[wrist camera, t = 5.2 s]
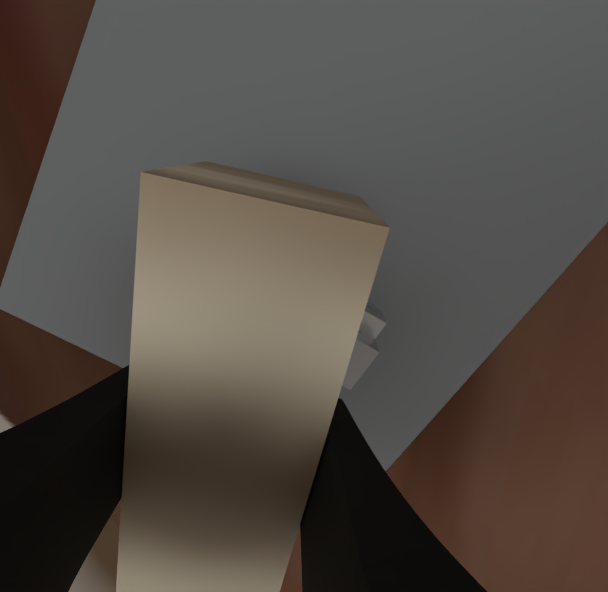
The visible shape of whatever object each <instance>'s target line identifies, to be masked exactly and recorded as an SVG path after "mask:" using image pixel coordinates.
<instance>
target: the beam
mask: <svg viewBox="0 0 608 592" xmlns="http://www.w3.org/2000/svg"><path fill="white" fill-rule="evenodd" d="M389 229H390V227H389V226H388V225H387V224H386V223H385V222H384V221H383V220H382V219H381V218H380V217H379V216H378V215H377V214H376V213H375V212H374V210H373V209H372V208H371V207H370V206H369V205H368V204H367V203H366V202H365V201H364V200H363V199H362V198H361V197H360V196H357V195H352V194H348V193H343V192H339V191H335V190H330V189H326V188H322V187H317V186H313V185H308V184H304V183H300V182H295V181H291V180H287V179H282V178H278V177H273V176H269V175H265V174H260V173H256V172H252V171H247V170H243V169H238V168H234V167H230V166H225V165H221V164H217V163H212V162H208V161H204V162H198V163H192V164H186V165H180V166H174V167H168V168H161V169H155V170H149V171H143V172H141V176H140V193H139V210H138V227H137V244H136V261H135V278H134V295H133V312H132V329H131V346H130V363H129V380H128V397H127V414H126V431H125V448H124V465H123V482H122V499H121V516H120V534H119V551H118V568H117V586H116V592H280V589H281V585H282V582H283V579H284V575H285V572H286V569H287V565H288V562H289V559H290V556H291V552H292V549H293V546H294V542H295V539H296V536H297V532H298V529H299V526H300V523H301V519H302V516H303V513H304V509H305V506H306V503H307V499H308V496H309V493H310V490H311V486H312V483H313V480H314V476H315V473H316V470H317V466H318V463H319V460H320V457H321V453H322V450H323V447H324V443H325V440H326V437H327V433H328V430H329V427H330V424H331V420H332V417H333V414H334V410H335V407H336V404H337V401H338V397H339V394H340V391H341V387H342V384H343V381H344V377H345V374H346V371H347V368H348V364H349V361H350V358H351V354H352V351H353V348H354V344H355V341H356V338H357V335H358V331H359V328H360V325H361V321H362V318H363V315H364V311H365V308H366V305H367V302H368V298H369V295H370V292H371V288H372V285H373V282H374V278H375V275H376V272H377V269H378V265H379V262H380V259H381V255H382V252H383V249H384V245H385V242H386V239H387V236H388V232H389Z"/></svg>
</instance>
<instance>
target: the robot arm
mask: <svg viewBox="0 0 608 592" xmlns="http://www.w3.org/2000/svg"><path fill="white" fill-rule="evenodd" d="M128 380H129V365H128V366H126V367H124V368H123V369H121V370H119V371H118V372H116V373H114V374H112V375H111V376H109V377H107V378H106V379H104V380H102V381H100V382H99V383H97V384H95V385H93V386H92V387H90V388H88V389H86V390H84V391H83V392H81V393H79V394H77V395H76V396H74V397H72V398H70V399H68V400H66V401H65V402H63V403H61V404H59V405H57V406H55V407H53V408H51V409H49V410H47V411H45V412H43V413H41V414H39V415H37V416H35V417H33V418H31V419H29V420H27V421H25V422H23V423H21V424H19V425H17V426H15V427H13V428H10V429H8V430H6V431H4V432H2V433H0V592H68V591H69V589H70V587H71V585H72V583H73V581H74V579H75V577H76V575H77V573H78V571H79V569H80V568H81V566H82V564H83V562H84V560H85V558H86V557H87V555H88V553H89V552H90V550H91V548H92V546H93V545H94V543H95V541H96V540H97V538H98V536H99V534H100V533H101V531H102V529H103V528H104V526H105V524H106V523H107V521H108V519H109V518H110V516H111V514H112V513H113V511H114V509H115V507H116V506H117V504H118V502H119V501H120V499H121V497H122V482H123V465H124V448H125V431H126V414H127V397H128ZM300 528H301V557H302V586H303V592H487V591H486V590H485V589H484V588H483V587H482V586H481V585H480V584H479V583H478V582H477V581H476V580H475V579H474V578H473V577H472V576H471V575H470V574H469V573H468V572H467V570H466V569H465V568H464V567H463V566H462V565H461V564H460V563H459V562H458V561H457V560H456V559H455V558H454V557H453V556H452V555H451V554H450V552H449V551H448V550H447V549H446V548H445V547H444V546H443V545H442V544H441V542H440V541H439V540H438V539H437V538H436V537H435V536H434V534H433V533H432V532H431V531H430V530H429V528H428V527H427V526H426V525H425V523H424V522H423V521H422V520H421V519H420V517H419V516H418V515H417V514H416V513H415V511H414V510H413V509H412V508H411V506H410V505H409V504H408V502H407V501H406V500H405V499H404V497H403V496H402V494H401V493H400V492H399V490H398V489H397V487H396V486H395V485H394V483H393V482H392V480H391V479H390V478H389V476H388V475H387V473H386V472H385V470H384V469H383V467H382V466H381V464H380V462H379V461H378V459H377V458H376V456H375V454H374V453H373V451H372V450H371V448H370V447H369V445H368V443H367V442H366V440H365V438H364V437H363V435H362V433H361V431H360V430H359V428H358V426H357V424H356V423H355V421H354V419H353V417H352V415H351V414H350V412H349V410H348V408H347V406H346V405H345V403H344V401H343V400H342V399H340V398H338V401H337V404H336V407H335V410H334V414H333V417H332V420H331V424H330V427H329V430H328V433H327V437H326V440H325V443H324V447H323V450H322V453H321V457H320V460H319V463H318V466H317V470H316V473H315V476H314V480H313V483H312V486H311V490H310V493H309V496H308V499H307V503H306V506H305V509H304V513H303V516H302V519H301V523H300Z"/></svg>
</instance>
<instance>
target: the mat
mask: <svg viewBox="0 0 608 592" xmlns="http://www.w3.org/2000/svg"><path fill="white" fill-rule="evenodd" d="M204 161H208V162H212V163H217V164H221V165H225V166H230V167H234V168H238V169H243V170H247V171H252V172H256V173H260V174H265V175H269V176H273V177H278V178H282V179H287V180H291V181H295V182H300V183H304V184H308V185H313V186H317V187H322V188H326V189H330V190H335V191H339V192H343V193H348V194H352V195H357V196H360V197H361V198H362V199H363V200H364V201H365V202H366V203H367V204H368V205H369V206H370V207H371V208H372V209H373V210H374V212H375V213H376V214H377V215H378V216H379V217H380V218H381V219H382V220H383V221H384V222H385V223H386V224H387V225H388V226H389V227H390V229H389V232H388V236H387V239H386V242H385V245H384V249H383V252H382V255H381V259H380V262H379V265H378V269H377V272H376V275H375V278H374V282H373V285H372V288H371V292H370V295H369V298H368V303H370V304H371V305H373V306H375V307H376V308H378V309H380V310H381V312H382V314H383V316H384V318H385V321H386V323H387V324H386V325H385V326H384V328H383V329H382V330H381V332H380V333H379V334H378V336H377V337H376V338H375V340H376V343H377V346H378V349H379V354H378V355H377V356H376V358H375V359H374V360H373V361H372V363H371V364H370V365H369V367H368V368H367V369H366V371H365V372H364V373H363V374H362V376H361V377H360V378H359V380H358V381H357V382H356V384H355V385H354V386H353V388H352V389H351V390H349V389H347V388H346V387H344V386H342V387H341V391H340V394H339V397H338V398H340V399H342V400H343V401H344V403H345V405H346V406H347V408H348V410H349V412H350V414H351V415H352V417H353V419H354V421H355V423H356V424H357V426H358V428H359V430H360V431H361V433H362V435H363V437H364V438H365V440H366V442H367V443H368V445H369V447H370V448H371V450H372V451H373V453H374V454H375V456H376V458H377V459H378V461H379V462H380V464H381V466H382V467H383V469H384V470H385V472H386V470H387V469H388V468H389V467H390V466H391V465H392V464H393V463H394V461H395V460H396V459H397V458H398V457H399V456H400V455H401V454H402V453H403V451H404V450H405V449H406V448H407V447H408V446H409V445H410V444H411V442H412V441H413V440H414V439H415V438H416V437H417V436H418V435H419V433H420V432H421V431H422V430H423V429H424V428H425V427H426V426H427V424H428V423H429V422H430V421H431V420H432V419H433V418H434V417H435V415H436V414H437V413H438V412H439V411H440V410H441V409H442V408H443V406H444V405H445V404H446V403H447V402H448V401H449V400H450V399H451V397H452V396H453V395H454V394H455V393H456V392H457V391H458V390H459V388H460V387H461V386H462V385H463V384H464V383H465V382H466V381H467V379H468V378H469V377H470V376H471V375H472V374H473V373H474V372H475V370H476V369H477V368H478V367H479V366H480V365H481V364H482V363H483V362H484V360H485V359H486V358H487V357H488V356H489V355H490V354H491V353H492V351H493V350H494V349H495V348H496V347H497V346H498V345H499V344H500V342H501V341H502V340H503V339H504V338H505V337H506V336H507V335H508V333H509V332H510V331H511V330H512V329H513V328H514V327H515V326H516V324H517V323H518V322H519V321H520V320H521V319H522V318H523V317H524V315H525V314H526V313H527V312H528V311H529V310H530V309H531V308H532V306H533V305H534V304H535V303H536V302H537V301H538V300H539V299H540V297H541V296H542V295H543V294H544V293H545V292H546V291H547V290H548V288H549V287H550V286H551V285H552V284H553V283H554V282H555V281H556V280H557V278H558V277H559V276H560V275H561V274H562V273H563V272H564V271H565V269H566V268H567V267H568V266H569V265H570V264H571V263H572V262H573V260H574V259H575V258H576V257H577V256H578V255H579V254H580V253H581V251H582V250H583V249H584V248H585V247H586V246H587V245H588V244H589V242H590V241H591V240H592V239H593V238H594V237H595V236H596V235H597V233H598V232H599V231H600V230H601V229H602V228H603V227H604V226H605V224H606V223H607V222H608V0H96V2H95V5H94V8H93V11H92V14H91V17H90V20H89V23H88V26H87V29H86V32H85V35H84V38H83V41H82V44H81V47H80V50H79V53H78V56H77V59H76V62H75V65H74V68H73V71H72V74H71V77H70V80H69V83H68V86H67V89H66V92H65V95H64V98H63V101H62V104H61V107H60V110H59V113H58V116H57V119H56V122H55V125H54V128H53V131H52V134H51V137H50V140H49V143H48V146H47V149H46V152H45V155H44V158H43V161H42V164H41V167H40V170H39V173H38V176H37V179H36V182H35V185H34V188H33V191H32V194H31V197H30V200H29V203H28V206H27V209H26V212H25V215H24V218H23V221H22V224H21V227H20V230H19V233H18V236H17V239H16V242H15V245H14V248H13V251H12V254H11V257H10V260H9V263H8V266H7V269H6V272H5V275H4V278H3V281H2V284H1V287H0V309H1V310H4V311H6V312H8V313H10V314H12V315H14V316H16V317H18V318H20V319H22V320H24V321H26V322H28V323H31V324H33V325H35V326H37V327H39V328H41V329H43V330H45V331H47V332H49V333H51V334H53V335H55V336H58V337H60V338H62V339H64V340H66V341H68V342H70V343H72V344H74V345H76V346H78V347H80V348H82V349H84V350H87V351H89V352H91V353H93V354H95V355H97V356H99V357H101V358H103V359H105V360H107V361H109V362H111V363H114V364H116V365H118V366H120V367H122V368H124V367H126V366H128V365H129V363H130V346H131V329H132V312H133V295H134V278H135V261H136V244H137V227H138V210H139V193H140V176H141V172H143V171H149V170H155V169H161V168H168V167H174V166H180V165H186V164H192V163H198V162H204Z"/></svg>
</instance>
